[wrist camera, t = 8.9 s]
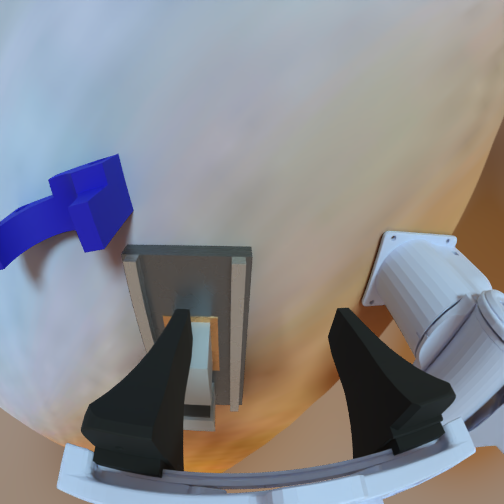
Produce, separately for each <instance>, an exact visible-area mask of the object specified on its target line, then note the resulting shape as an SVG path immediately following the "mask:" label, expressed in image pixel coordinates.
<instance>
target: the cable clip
mask: <svg viewBox="0 0 504 504" xmlns="http://www.w3.org/2000/svg"><path fill="white" fill-rule="evenodd" d="M48 181H49V184H50V187H51V190H52V194H53V195H51V196H48V197H46V198H43V199H40V200H38V201H35V202H32V203H30V204H27V205H25V206H22V207H20V208H18V209H16V210H15V211H14V212H12V213H11V214H10V215H8V216H7V217H6V218H4V219H3V220H2V221H1V222H0V270H2V269H5V268H6V267H7V266H8V265H9V264H10V263H11V262H12V261H13V260H14V259H15V258H17V257H18V256H19V255H20V254H22V253H23V252H24V251H26V250H27V249H29V248H31V247H32V246H34V245H36V244H37V243H39V242H41V241H43V240H45V239H47V238H49V237H52V236H54V235H57V234H60V233H63V232H67V231H72V230H76V232H77V234H78V237H79V240H80V242H81V245H82V247H83V249H84V252H91V251H96V250H102V249H105V247H106V246H107V245H108V243H109V242H110V241H111V239H112V238H113V236H114V235H115V234H116V232H117V231H118V230H119V228H120V227H121V226H122V225H123V223H124V222H125V221H126V219H127V218H128V217H129V216H130V214H131V213H132V212H133V211H134V210H133V207H132V204H131V200H130V197H129V193H128V189H127V186H126V182H125V178H124V175H123V171H122V167H121V163H120V159H119V155H118V154H116V155H113V156H110V157H106V158H103V159H100V160H97V161H94V162H91V163H88V164H85V165H82V166H79V167H76V168H73V169H71V170H68V171H65V172H63V173H60V174H57V175H55V176H54V177H52V178H50V179H49V180H48Z"/></svg>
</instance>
